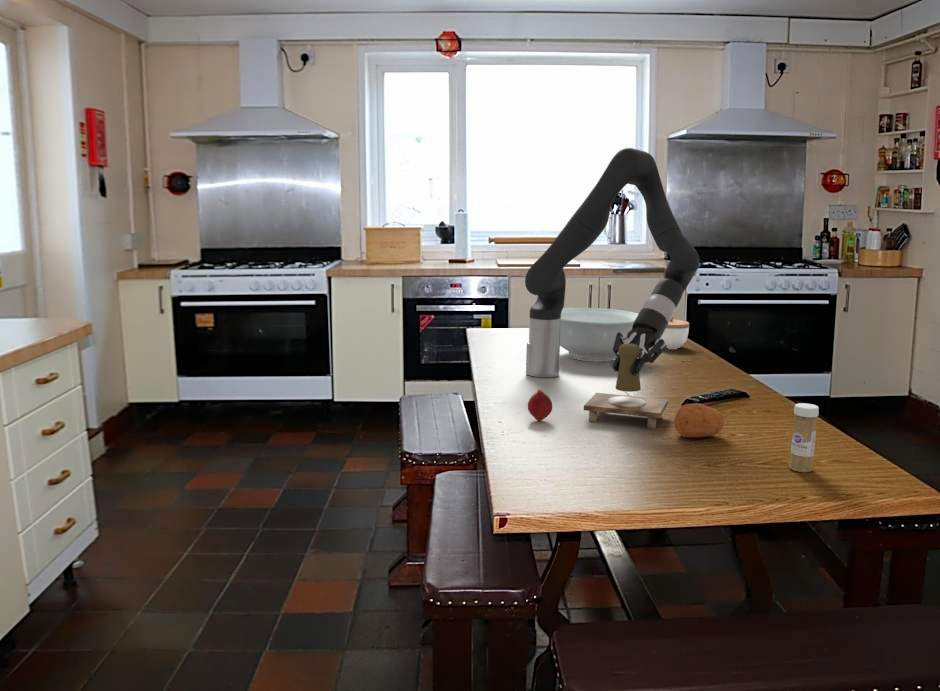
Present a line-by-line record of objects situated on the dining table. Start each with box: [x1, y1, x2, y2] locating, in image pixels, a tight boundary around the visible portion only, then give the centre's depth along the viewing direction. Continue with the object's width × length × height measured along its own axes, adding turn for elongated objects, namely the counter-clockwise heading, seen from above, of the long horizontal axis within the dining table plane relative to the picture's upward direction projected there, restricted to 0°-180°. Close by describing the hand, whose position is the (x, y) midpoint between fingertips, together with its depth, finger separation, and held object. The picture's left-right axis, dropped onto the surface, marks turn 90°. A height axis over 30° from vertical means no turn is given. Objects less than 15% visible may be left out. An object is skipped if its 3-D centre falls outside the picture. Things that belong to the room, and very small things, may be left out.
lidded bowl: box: [660, 315, 690, 350], centre depth 305 cm, size 13×13×11 cm
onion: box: [527, 388, 553, 422], centre depth 208 cm, size 6×6×8 cm
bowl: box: [560, 307, 639, 363], centre depth 285 cm, size 32×32×15 cm
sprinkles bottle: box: [788, 402, 820, 473], centre depth 175 cm, size 5×5×14 cm
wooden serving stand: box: [583, 392, 669, 430], centre depth 212 cm, size 18×14×5 cm
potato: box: [673, 402, 725, 439], centre depth 198 cm, size 9×11×8 cm
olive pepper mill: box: [615, 344, 642, 393], centre depth 210 cm, size 6×6×11 cm
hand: (623, 371), depth 208 cm, fingers closed on olive pepper mill, 4 cm apart
